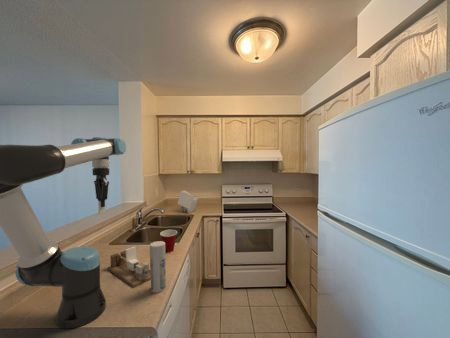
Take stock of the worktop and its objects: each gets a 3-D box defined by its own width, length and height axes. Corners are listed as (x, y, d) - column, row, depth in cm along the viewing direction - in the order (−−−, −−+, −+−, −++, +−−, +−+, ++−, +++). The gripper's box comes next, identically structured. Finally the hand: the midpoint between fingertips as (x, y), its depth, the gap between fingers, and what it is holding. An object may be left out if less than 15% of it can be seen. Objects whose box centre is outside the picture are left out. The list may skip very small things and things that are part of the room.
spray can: (152, 284, 96) (152, 241, 95) (167, 284, 96) (166, 240, 96) (148, 293, 89) (147, 246, 89) (164, 292, 90) (163, 246, 89)
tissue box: (183, 207, 261) (188, 188, 258) (194, 212, 257) (200, 193, 254) (174, 211, 241) (181, 191, 238) (186, 216, 237) (193, 196, 234)
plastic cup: (159, 255, 128) (159, 235, 128) (160, 248, 138) (160, 230, 138) (178, 252, 131) (177, 233, 130) (177, 246, 141) (177, 228, 141)
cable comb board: (134, 288, 93) (134, 272, 93) (107, 269, 110) (107, 256, 110) (158, 277, 102) (158, 262, 102) (129, 261, 120) (129, 248, 120)
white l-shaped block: (131, 271, 102) (130, 251, 102) (126, 268, 105) (125, 249, 105) (140, 267, 106) (140, 248, 106) (135, 264, 109) (135, 246, 109)
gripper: (114, 167, 107) (115, 213, 108) (103, 167, 115) (104, 210, 116) (98, 167, 101) (99, 216, 102) (88, 167, 110) (89, 212, 110)
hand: (102, 212), depth 109 cm, fingers closed
